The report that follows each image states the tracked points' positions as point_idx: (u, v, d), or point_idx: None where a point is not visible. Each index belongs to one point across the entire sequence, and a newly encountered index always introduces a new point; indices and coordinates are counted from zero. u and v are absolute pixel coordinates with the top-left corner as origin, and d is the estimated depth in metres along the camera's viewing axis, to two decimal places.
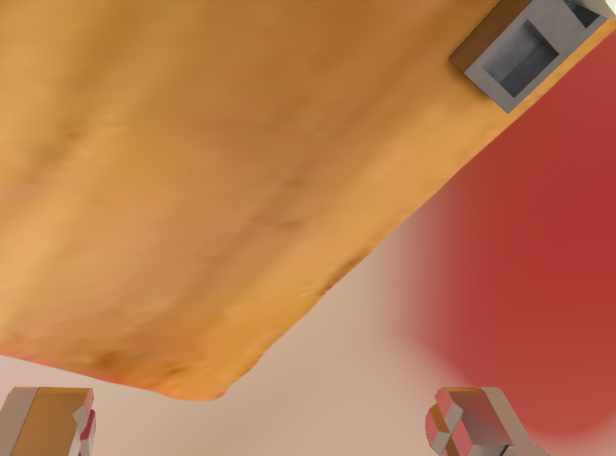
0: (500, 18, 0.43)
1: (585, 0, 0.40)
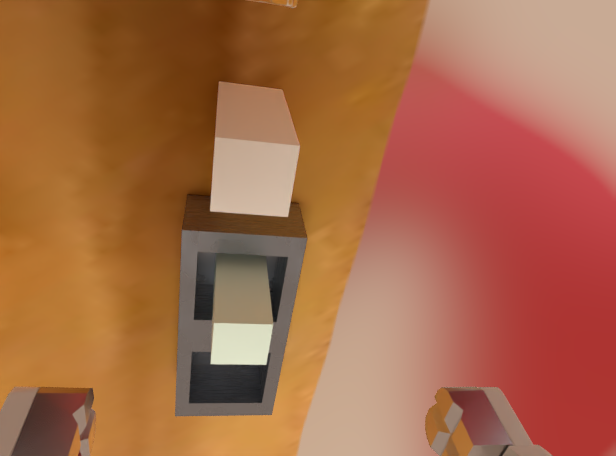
0: None
1: None
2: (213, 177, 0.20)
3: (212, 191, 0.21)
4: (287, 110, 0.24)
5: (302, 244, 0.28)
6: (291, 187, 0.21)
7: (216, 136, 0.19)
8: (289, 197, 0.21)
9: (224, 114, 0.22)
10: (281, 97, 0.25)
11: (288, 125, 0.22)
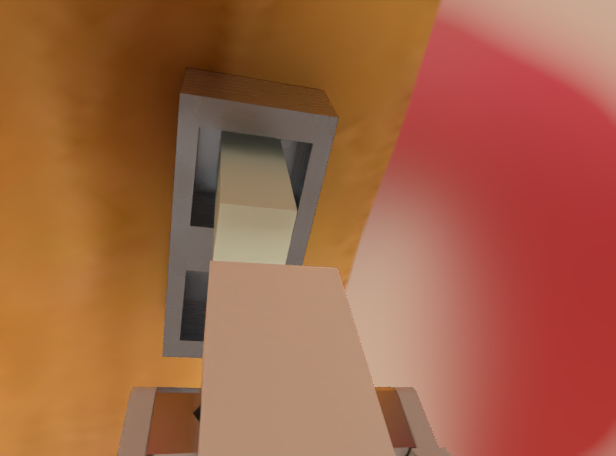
0: None
1: None
2: None
3: None
4: (364, 367, 0.10)
5: (331, 126, 0.22)
6: None
7: None
8: None
9: (218, 440, 0.08)
10: (341, 304, 0.12)
11: None
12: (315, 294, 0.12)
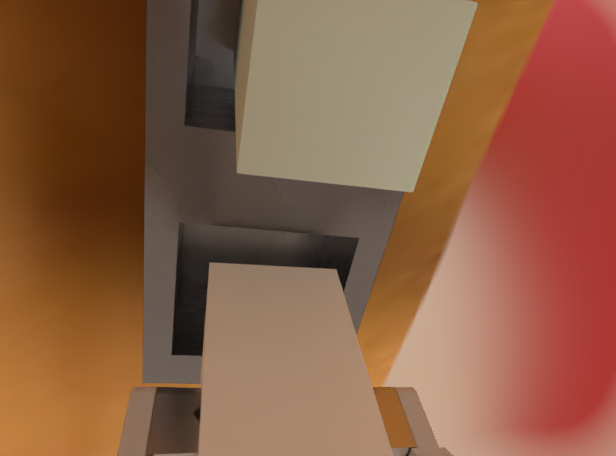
0: None
1: None
2: None
3: None
4: (363, 368, 0.10)
5: None
6: None
7: None
8: None
9: (218, 441, 0.08)
10: (340, 305, 0.12)
11: None
12: (314, 296, 0.12)
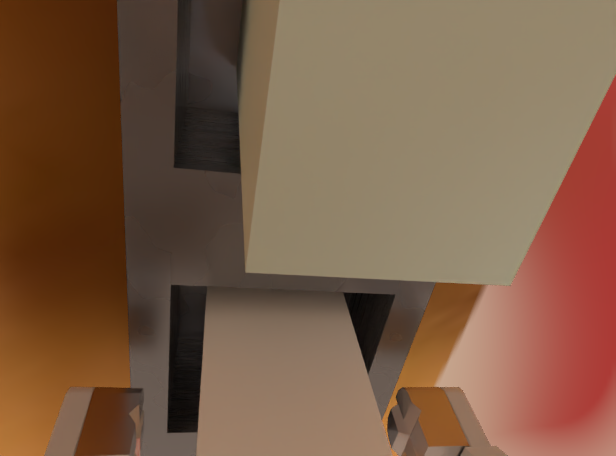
0: None
1: None
2: None
3: None
4: (348, 321, 0.12)
5: None
6: None
7: None
8: None
9: (217, 376, 0.10)
10: None
11: (362, 394, 0.10)
12: None
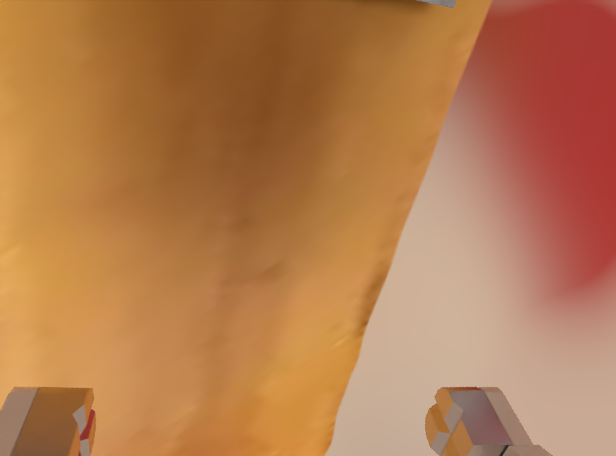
0: None
1: None
2: None
3: None
4: None
5: None
6: None
7: None
8: None
9: None
10: None
11: None
12: None
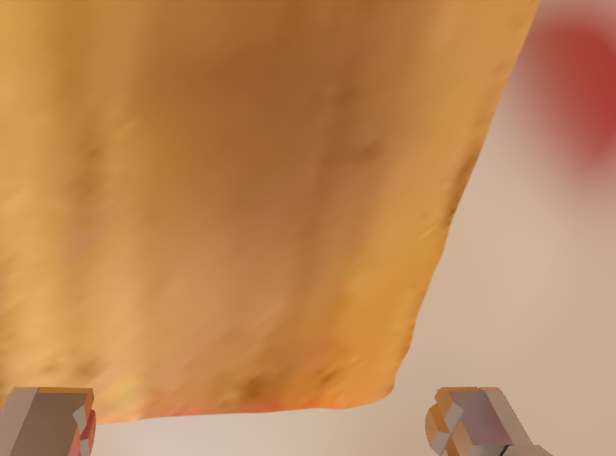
0: None
1: None
2: None
3: None
4: None
5: None
6: None
7: None
8: None
9: None
10: None
11: None
12: None
